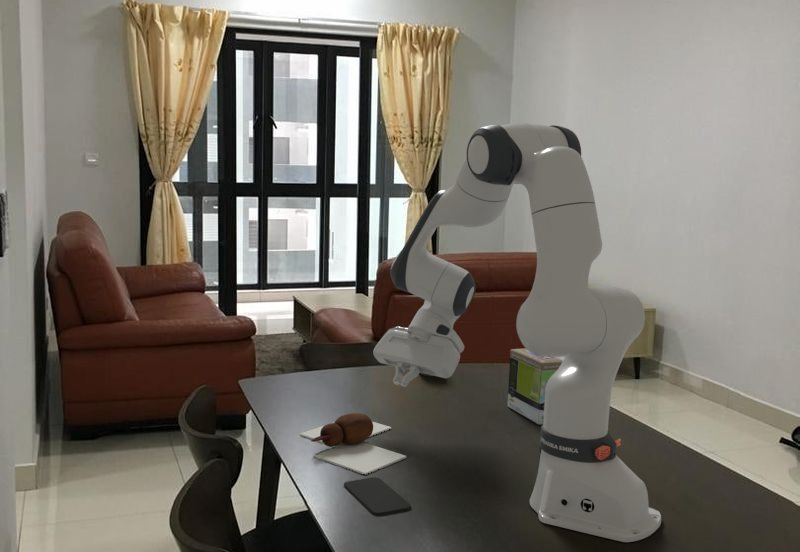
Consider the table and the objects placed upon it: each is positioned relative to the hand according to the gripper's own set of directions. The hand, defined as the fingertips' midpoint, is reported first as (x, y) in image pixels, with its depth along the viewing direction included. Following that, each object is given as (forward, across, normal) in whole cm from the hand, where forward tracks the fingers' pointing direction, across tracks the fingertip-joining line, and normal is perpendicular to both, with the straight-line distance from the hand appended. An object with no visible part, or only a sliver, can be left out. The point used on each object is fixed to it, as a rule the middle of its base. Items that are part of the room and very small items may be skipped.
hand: (399, 384), depth 182 cm
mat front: (+12, -10, +5) cm, 16 cm away
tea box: (-17, +15, +34) cm, 41 cm away
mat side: (+19, +2, -2) cm, 19 cm away
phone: (+28, +17, -10) cm, 34 cm away
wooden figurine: (+10, -3, +2) cm, 11 cm away
